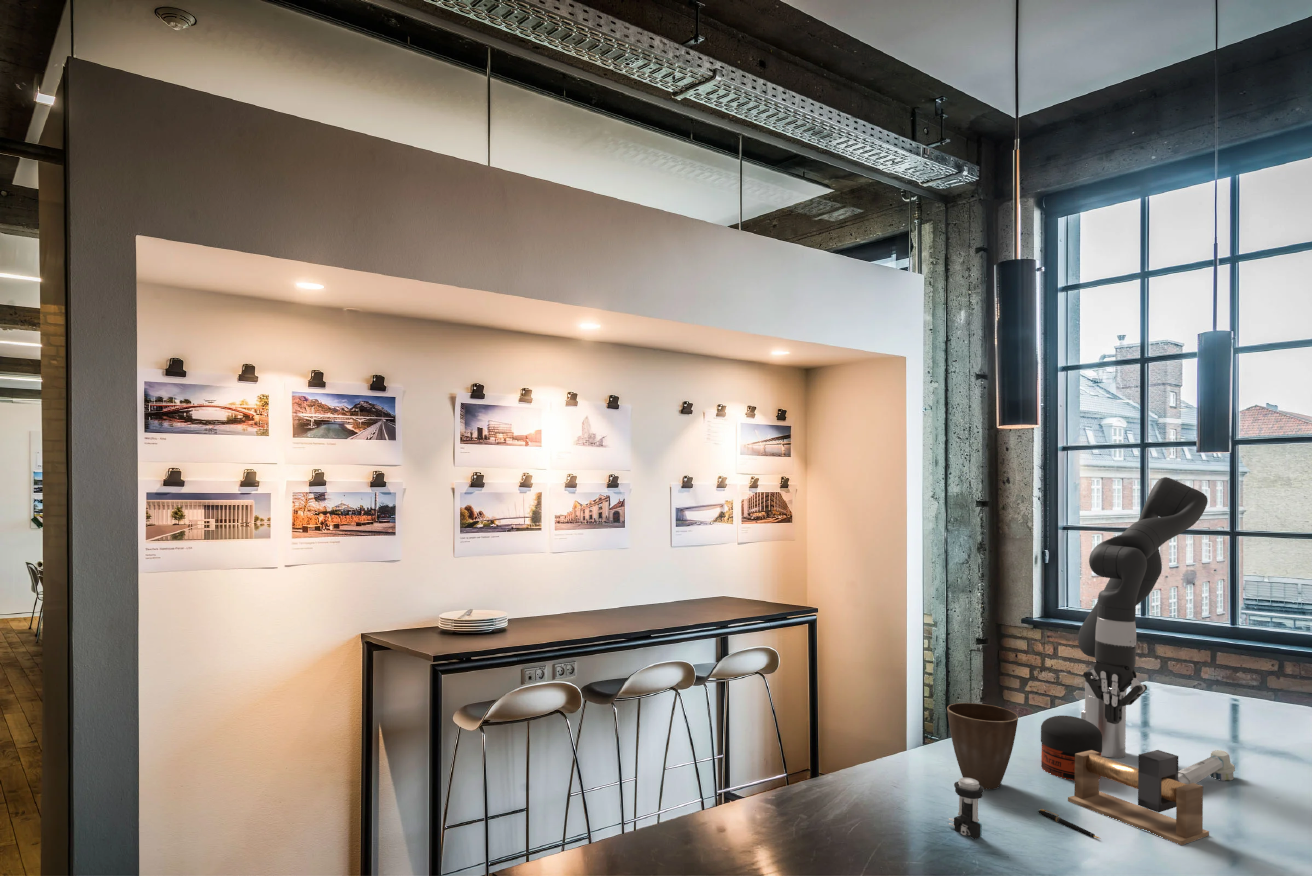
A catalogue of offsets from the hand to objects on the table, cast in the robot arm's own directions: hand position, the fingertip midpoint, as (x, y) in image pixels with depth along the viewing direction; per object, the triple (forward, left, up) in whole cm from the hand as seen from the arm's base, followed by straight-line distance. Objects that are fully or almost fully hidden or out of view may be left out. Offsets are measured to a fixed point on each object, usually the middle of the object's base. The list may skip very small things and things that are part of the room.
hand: (1113, 722), depth 171 cm
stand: (+5, 0, -18) cm, 19 cm away
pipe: (+5, 0, -12) cm, 13 cm away
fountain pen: (+1, -17, -19) cm, 25 cm away
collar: (+9, 0, -14) cm, 17 cm away
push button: (-6, -39, -18) cm, 43 cm away
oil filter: (-18, +13, -18) cm, 29 cm away
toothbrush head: (0, +35, -19) cm, 40 cm away
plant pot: (-22, -14, -18) cm, 32 cm away
